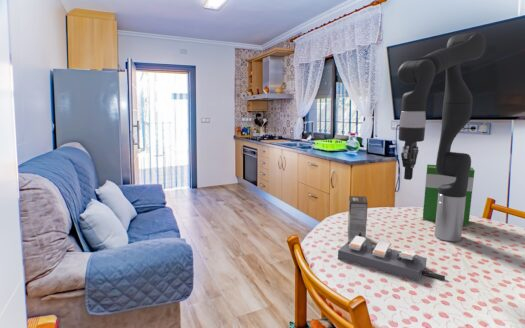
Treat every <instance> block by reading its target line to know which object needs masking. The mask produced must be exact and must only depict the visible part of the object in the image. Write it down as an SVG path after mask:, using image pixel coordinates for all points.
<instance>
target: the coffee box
mask: <svg viewBox="0 0 525 328" xmlns="http://www.w3.org/2000/svg"><path fill="white" fill-rule="evenodd" d="M348 197H349V198H348V199H349V200H348V215H347V216H348V217H347V242H348V241H349V240H350V239H352V240H353V239H354V238H355V236H360V237H364V238H366V239H367V224H368V223H367V220H368V206H369V205H368V203H369V202H368V200H367V196H365V195H363V196H360V195H358V196H357V195H349V196H348Z"/></svg>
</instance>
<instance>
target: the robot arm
mask: <svg viewBox="0 0 525 328" xmlns="http://www.w3.org/2000/svg"><path fill="white" fill-rule="evenodd" d="M486 44H487V43H486V37H485V35H484V34H483V33H481V32H469V33H462V34H457V35H455V34H454V35H453V36H451V37H449V38H448V41H447V43H446V47H443V48H440V49H436V50H435V51H432V52H430V53H427V54H426V55H424V56H421V57H417V58H413V59H410V60H407V61H405V62H403V63H402V64H401V65H400V66H399V68H398V69H397V79H398V80H399V82H400V83H402V84H404V85H415V87H414V88H413V90H412V91H408V92H404V94H403V95H402V98H401V111H400V116H399V117H400V118H399V125H398V126H399V127H398V140H399V141H400V142H401V141H402V142H404V145H403V146H402V152H401V153H400V156H401V157H400V158H401V162H402V167H403V168H404V171H403V172H404V173H403V174H404V175H403V179H404V180H406V181H407V180H409V181H411V180H413V175H414V174H413V173H414V168H415V165H416V163H417V159H418V155H419V146H418V143H420V142H423V141H425V133H426V123H427V122H426V121H427V116H426V115H427V114H426V113H427V112H426V109H427V98H428V96H429V94H430V90H431V87H432V84H433V83H434V79H435V76H436V75H438V74H440V73H443V72H444V71H445V86H444V96H443V103H442V113H441V114H442V115H441V117H442V118H441V128H440V129H441V130H440V136H439V137H440V138H439V145H438V149H437V155H436V160H435V162H436V163H435V165H436V170H437V173H438V174H439V175H444V176H450V177H456V180H455V182H453V183H450V184H444V185H441V186H439V190H438V202H437V212H436V221H435V225H434V237H435V238H437V239H440V240H442V241H445V242H460V241H462V236H463V227H464V225H463V219H464V210H465V200H466V192H467V187H468V180H469V174H470V168H472V158H471V156H470V154H468V153H464V152H454V151H451V150H452V149H451V148H452V145H453V142H454V140H455V138H456V137H457V135H458V134H459V133H460V132H461V131H462V130H463V128H464V127H465V126H466V125H467V123H468V122H469V121H470V119H471V117H472V110H473V109H472V108H473V102H474V101H473V99H474V98H473V94H472V93H471V91H470V90H469V88H468V86H467V84H466V82H465V81H464V79H463V77H462V74H461V72H462V71H461V64H462V63H465V62H468V61H474V60H478V59H480V58H481V57H482V56H483V54H484V53H485V50H486V46H487V45H486Z"/></svg>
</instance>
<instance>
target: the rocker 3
mask: <svg viewBox="0 0 525 328" xmlns="http://www.w3.org/2000/svg"><path fill="white" fill-rule="evenodd" d="M416 255H417V253H415V252H412V251H411V252H410V251H407V250H403V251H401V253H399V257H402V258H406V259H410V260H412V259H414V258H415V256H416Z"/></svg>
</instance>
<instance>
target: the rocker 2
mask: <svg viewBox="0 0 525 328" xmlns="http://www.w3.org/2000/svg"><path fill="white" fill-rule="evenodd" d="M390 247H391V242H387V241H383V240H378V242H377V244H376V247H375V249H374V251H373V255H375V256H379V257H383V258H384V257H385V255H386V253H387V251H388V249H390Z"/></svg>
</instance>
